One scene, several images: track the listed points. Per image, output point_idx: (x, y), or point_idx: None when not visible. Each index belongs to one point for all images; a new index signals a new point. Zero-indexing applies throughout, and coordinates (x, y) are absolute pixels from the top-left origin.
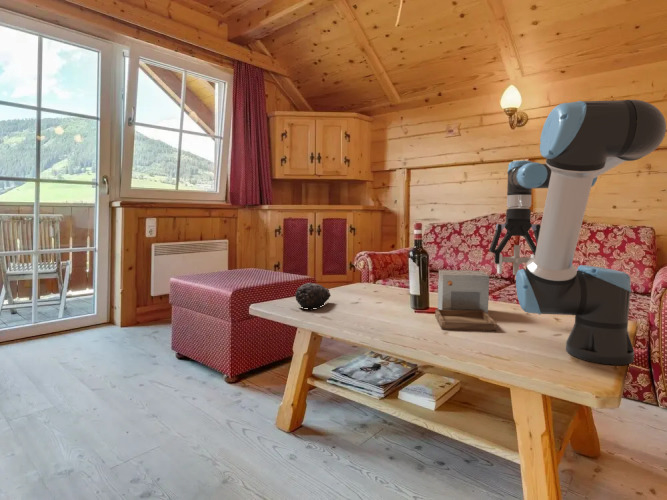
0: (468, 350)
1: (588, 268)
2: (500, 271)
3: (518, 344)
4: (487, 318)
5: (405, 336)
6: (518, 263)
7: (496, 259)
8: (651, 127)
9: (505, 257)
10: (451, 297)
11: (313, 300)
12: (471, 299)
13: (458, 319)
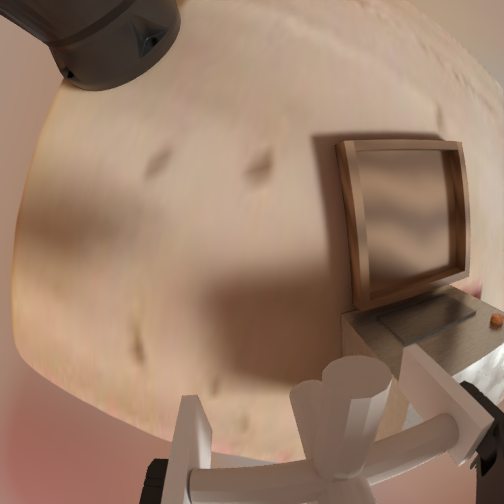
0: (382, 14)
1: None
2: (418, 354)
3: (285, 46)
4: (363, 224)
5: (480, 95)
6: (363, 359)
7: (480, 399)
8: None
9: (433, 449)
10: (463, 304)
11: None
12: (414, 321)
13: (423, 237)
